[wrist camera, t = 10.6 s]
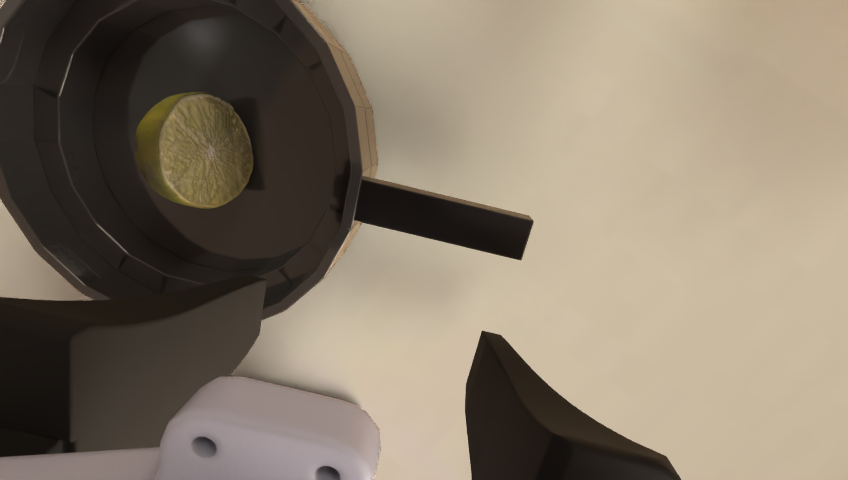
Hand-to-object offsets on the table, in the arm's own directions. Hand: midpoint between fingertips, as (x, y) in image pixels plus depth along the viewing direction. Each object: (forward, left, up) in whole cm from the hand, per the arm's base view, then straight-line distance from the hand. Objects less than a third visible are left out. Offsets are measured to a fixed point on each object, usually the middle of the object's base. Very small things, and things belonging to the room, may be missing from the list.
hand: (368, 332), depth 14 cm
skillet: (+3, +10, -9) cm, 14 cm away
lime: (+3, +10, -9) cm, 14 cm away
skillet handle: (+3, -1, -6) cm, 7 cm away
